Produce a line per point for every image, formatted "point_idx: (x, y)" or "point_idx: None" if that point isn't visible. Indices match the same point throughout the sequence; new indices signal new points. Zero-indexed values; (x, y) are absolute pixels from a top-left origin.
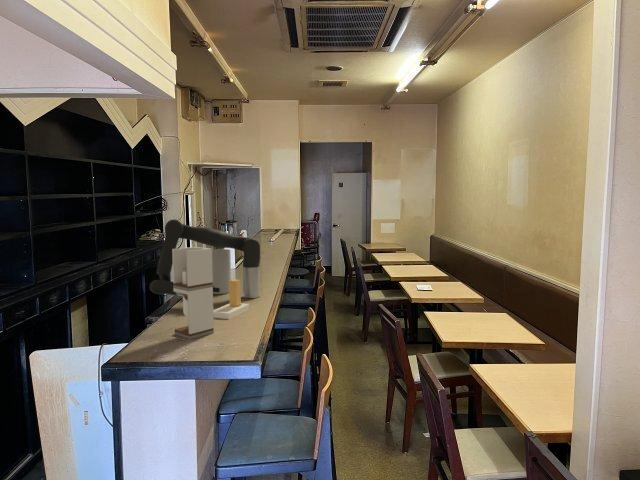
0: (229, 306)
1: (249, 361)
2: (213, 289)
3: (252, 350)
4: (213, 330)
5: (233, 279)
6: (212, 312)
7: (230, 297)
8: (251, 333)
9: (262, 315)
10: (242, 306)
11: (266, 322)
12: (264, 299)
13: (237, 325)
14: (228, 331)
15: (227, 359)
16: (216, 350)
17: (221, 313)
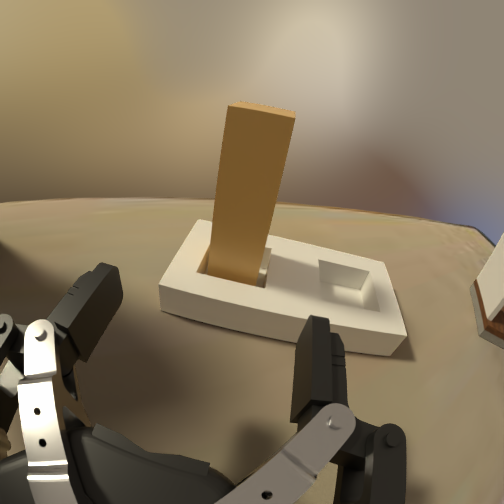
0: (266, 279)
1: (480, 231)
2: (81, 336)
3: (463, 229)
4: (473, 284)
5: (232, 105)
6: (499, 244)
7: (268, 231)
8: (421, 230)
9: (274, 212)
10: None
11: (340, 209)
12: (28, 218)
13: (401, 255)
14: (443, 265)
15: None
16: None
17: (390, 288)
